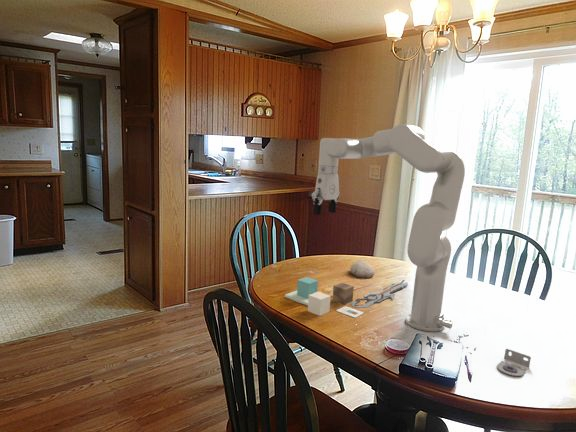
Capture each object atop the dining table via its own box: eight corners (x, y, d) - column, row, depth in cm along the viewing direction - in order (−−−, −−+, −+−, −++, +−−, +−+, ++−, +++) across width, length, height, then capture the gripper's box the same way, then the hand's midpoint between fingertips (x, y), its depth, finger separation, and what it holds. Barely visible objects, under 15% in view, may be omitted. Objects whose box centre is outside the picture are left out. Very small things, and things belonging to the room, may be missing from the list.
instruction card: (364, 313, 151) (364, 312, 151) (354, 317, 147) (355, 317, 147) (345, 306, 156) (345, 305, 156) (335, 310, 152) (336, 310, 152)
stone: (366, 288, 191) (377, 275, 189) (349, 275, 190) (360, 262, 188) (363, 276, 203) (374, 264, 201) (347, 264, 202) (358, 252, 200)
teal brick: (317, 295, 163) (318, 280, 162) (308, 299, 159) (309, 283, 158) (305, 291, 167) (306, 276, 165) (296, 294, 162) (297, 279, 161)
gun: (345, 307, 159) (369, 315, 153) (346, 301, 159) (369, 309, 152) (396, 282, 188) (418, 288, 181) (397, 277, 187) (418, 283, 181)
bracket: (493, 371, 117) (495, 359, 116) (504, 359, 124) (506, 348, 124) (519, 381, 113) (521, 369, 112) (529, 368, 120) (531, 356, 120)
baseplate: (328, 298, 164) (328, 295, 163) (309, 306, 155) (309, 303, 154) (304, 289, 171) (304, 287, 171) (284, 297, 162) (284, 294, 162)
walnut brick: (352, 301, 162) (353, 286, 161) (344, 304, 158) (345, 289, 157) (340, 297, 166) (341, 282, 165) (332, 300, 162) (333, 285, 160)
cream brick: (329, 311, 151) (330, 295, 150) (320, 316, 147) (321, 299, 146) (317, 307, 154) (318, 291, 153) (307, 311, 150) (308, 295, 149)
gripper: (322, 171, 156) (319, 217, 159) (348, 170, 169) (345, 213, 172) (306, 169, 161) (303, 214, 164) (332, 169, 174) (329, 210, 177)
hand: (324, 213), depth 168 cm, fingers open, 9 cm apart
